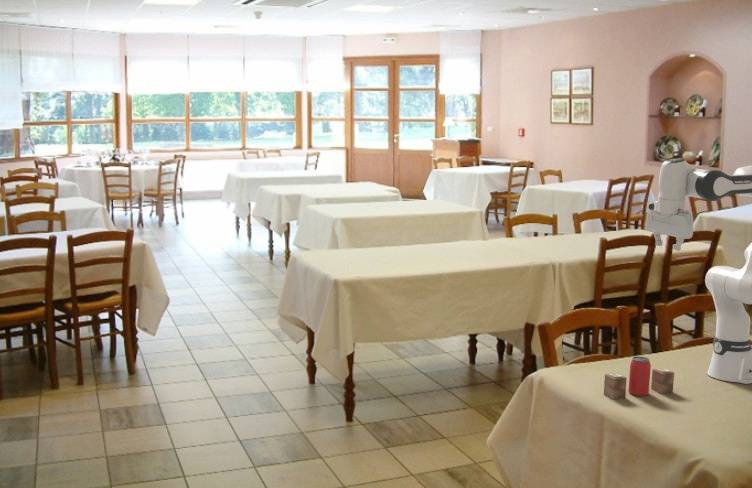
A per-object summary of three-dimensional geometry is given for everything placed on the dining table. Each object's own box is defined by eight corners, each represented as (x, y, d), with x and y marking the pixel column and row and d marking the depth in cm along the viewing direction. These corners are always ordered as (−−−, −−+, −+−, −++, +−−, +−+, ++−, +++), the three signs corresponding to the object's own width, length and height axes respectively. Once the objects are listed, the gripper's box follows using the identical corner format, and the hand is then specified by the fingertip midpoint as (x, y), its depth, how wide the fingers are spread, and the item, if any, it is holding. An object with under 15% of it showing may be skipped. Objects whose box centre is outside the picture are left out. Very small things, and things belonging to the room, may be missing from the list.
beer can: (649, 397, 294) (652, 362, 292) (628, 395, 296) (631, 360, 294) (647, 391, 301) (650, 356, 299) (627, 389, 302) (629, 355, 300)
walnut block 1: (616, 393, 298) (617, 372, 297) (625, 397, 293) (626, 376, 292) (603, 394, 296) (605, 373, 295) (612, 399, 292) (613, 378, 291)
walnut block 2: (663, 387, 305) (664, 367, 303) (672, 392, 300) (674, 371, 299) (651, 389, 303) (652, 368, 302) (660, 393, 298) (662, 372, 297)
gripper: (699, 210, 289) (696, 252, 291) (659, 203, 308) (656, 242, 310) (683, 211, 287) (680, 253, 289) (644, 203, 306) (641, 243, 308)
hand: (667, 248), depth 300 cm, fingers open, 8 cm apart
